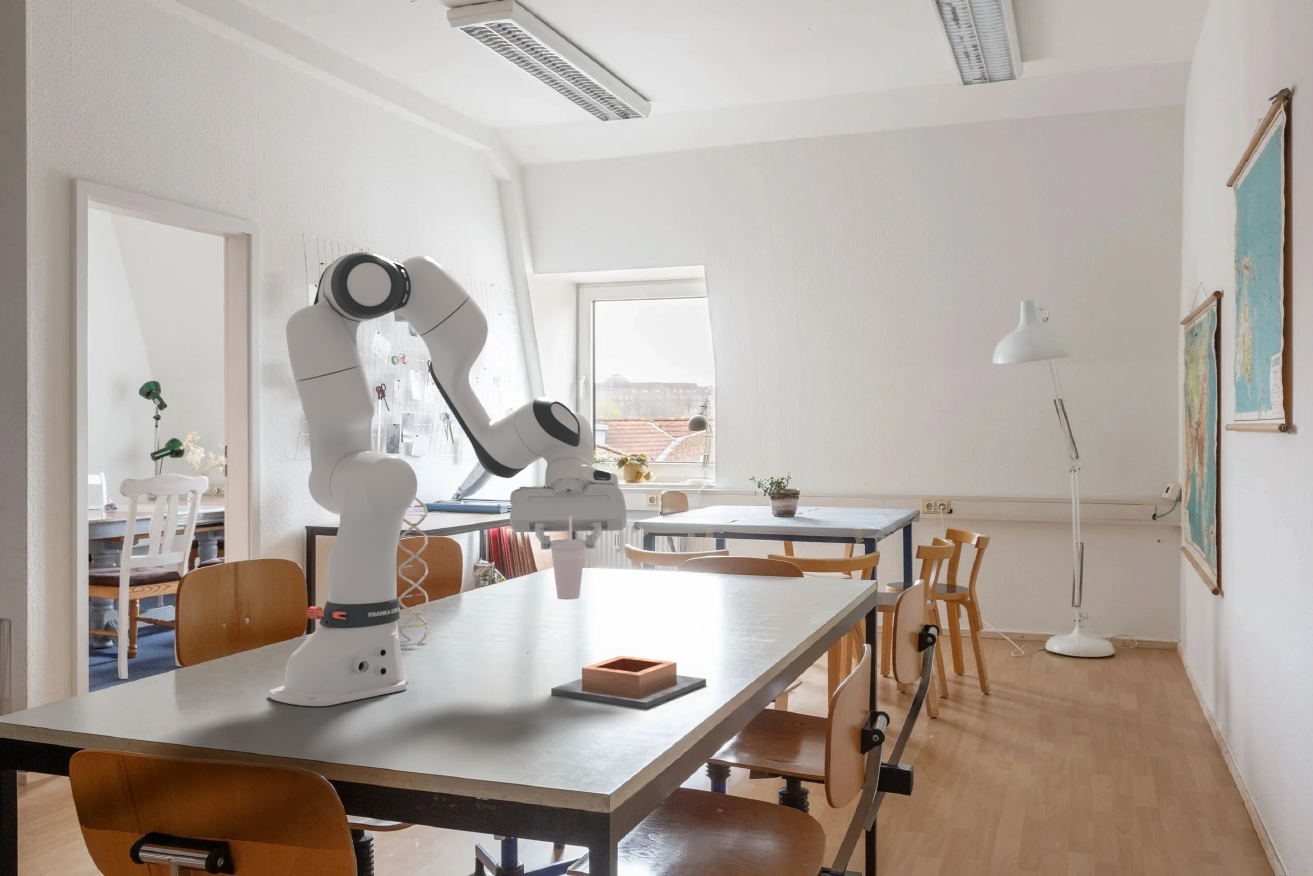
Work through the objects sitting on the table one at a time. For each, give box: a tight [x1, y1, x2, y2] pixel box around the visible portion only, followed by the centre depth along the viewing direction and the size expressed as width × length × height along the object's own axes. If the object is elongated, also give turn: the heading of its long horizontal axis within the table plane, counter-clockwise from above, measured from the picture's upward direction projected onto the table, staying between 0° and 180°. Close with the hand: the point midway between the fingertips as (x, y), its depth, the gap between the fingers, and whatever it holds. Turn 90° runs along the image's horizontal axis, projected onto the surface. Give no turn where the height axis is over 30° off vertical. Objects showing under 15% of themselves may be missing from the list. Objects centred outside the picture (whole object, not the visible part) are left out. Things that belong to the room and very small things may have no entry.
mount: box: [550, 655, 707, 710], centre depth 170 cm, size 18×18×4 cm
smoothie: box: [549, 516, 587, 600], centre depth 179 cm, size 6×6×14 cm
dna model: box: [397, 495, 430, 646], centre depth 213 cm, size 7×6×30 cm
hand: (568, 546), depth 178 cm, fingers closed on smoothie, 6 cm apart
